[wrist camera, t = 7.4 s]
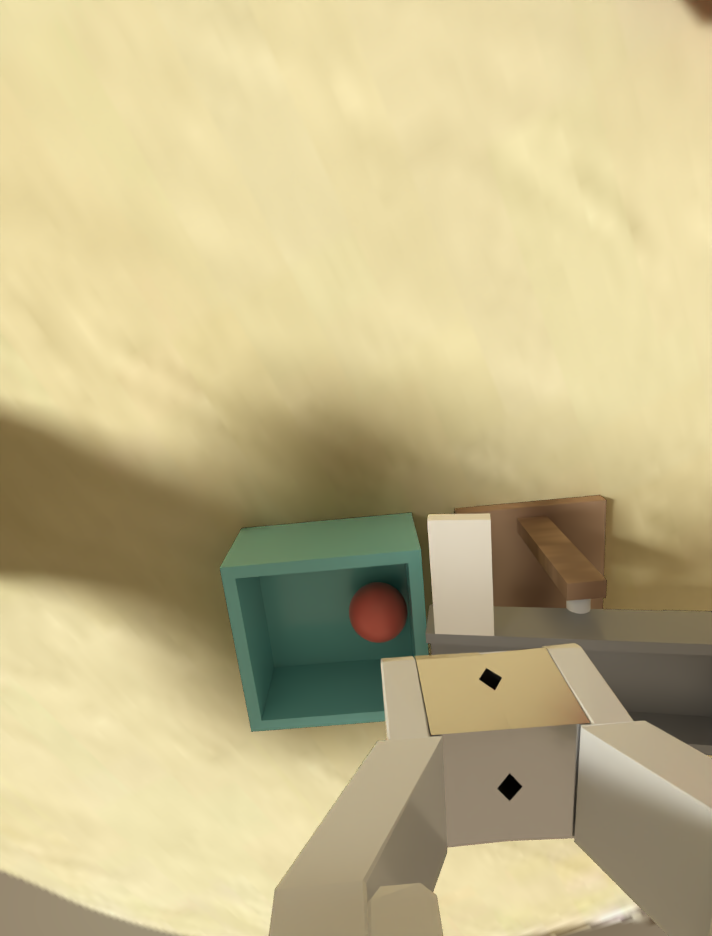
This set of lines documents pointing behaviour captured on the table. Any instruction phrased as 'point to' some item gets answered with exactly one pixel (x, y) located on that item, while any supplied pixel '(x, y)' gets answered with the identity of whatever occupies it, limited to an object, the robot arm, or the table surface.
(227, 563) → the cup
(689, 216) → the table surface
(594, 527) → the lever stand
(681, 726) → the tilting lever
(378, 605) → the ball
